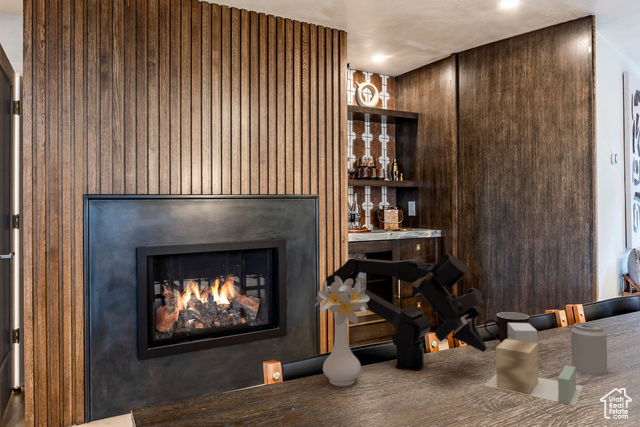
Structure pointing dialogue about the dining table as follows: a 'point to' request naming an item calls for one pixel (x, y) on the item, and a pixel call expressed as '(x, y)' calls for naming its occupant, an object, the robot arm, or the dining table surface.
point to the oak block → (517, 366)
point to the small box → (522, 332)
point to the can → (589, 348)
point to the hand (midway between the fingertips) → (485, 350)
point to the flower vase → (342, 328)
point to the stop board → (567, 384)
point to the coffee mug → (503, 323)
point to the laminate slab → (542, 389)
